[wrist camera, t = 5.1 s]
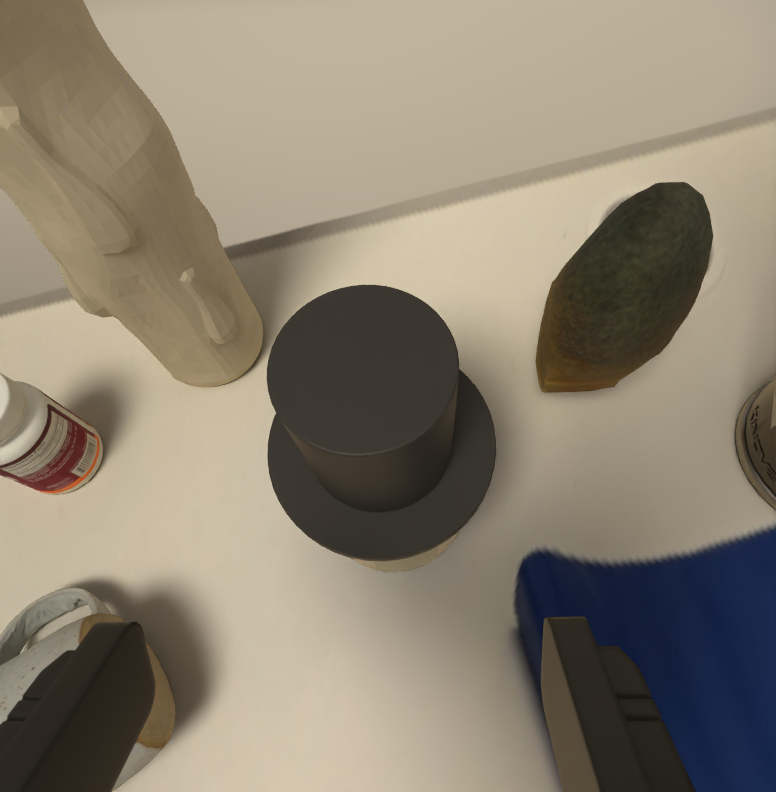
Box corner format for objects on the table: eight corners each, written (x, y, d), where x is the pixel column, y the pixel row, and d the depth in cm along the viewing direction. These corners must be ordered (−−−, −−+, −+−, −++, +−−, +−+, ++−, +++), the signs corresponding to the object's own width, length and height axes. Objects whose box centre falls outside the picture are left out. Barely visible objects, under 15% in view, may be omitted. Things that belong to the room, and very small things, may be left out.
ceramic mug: (206, 733, 29) (132, 752, 22) (54, 851, 27) (-77, 912, 20) (119, 558, 33) (33, 527, 26) (-18, 651, 31) (-147, 645, 24)
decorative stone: (582, 303, 38) (668, 100, 24) (664, 360, 35) (808, 174, 22) (482, 403, 35) (513, 240, 22) (563, 470, 33) (655, 338, 19)
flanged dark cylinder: (483, 359, 28) (504, 233, 20) (500, 565, 24) (536, 515, 16) (286, 367, 29) (226, 247, 20) (271, 569, 25) (188, 522, 16)
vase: (151, 413, 36) (-685, -320, 9) (142, 303, 40) (-479, -461, 13) (285, 379, 37) (-142, -426, 10) (264, 273, 40) (-88, -535, 13)
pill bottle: (16, 454, 36) (-96, 399, 28) (84, 408, 37) (-6, 343, 29) (47, 513, 34) (-63, 471, 27) (118, 463, 35) (32, 409, 28)
